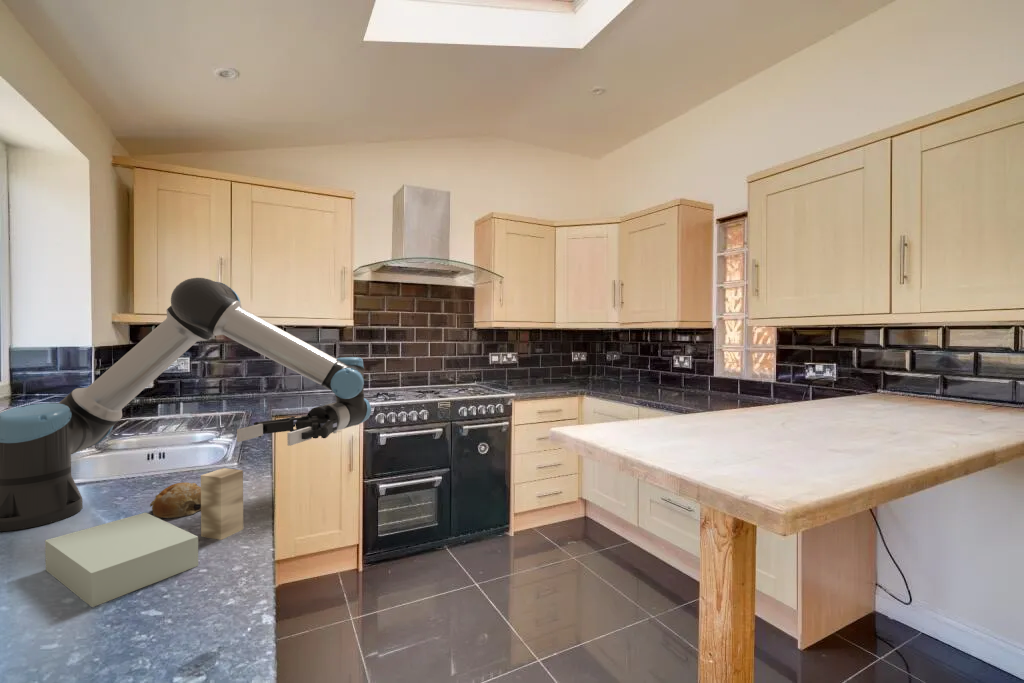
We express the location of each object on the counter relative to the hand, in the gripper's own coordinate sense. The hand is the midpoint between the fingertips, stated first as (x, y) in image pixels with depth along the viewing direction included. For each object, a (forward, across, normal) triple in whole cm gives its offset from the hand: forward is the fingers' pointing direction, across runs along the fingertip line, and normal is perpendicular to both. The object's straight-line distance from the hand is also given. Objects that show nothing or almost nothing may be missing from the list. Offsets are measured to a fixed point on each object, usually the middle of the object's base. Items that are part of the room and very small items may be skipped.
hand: (262, 437), depth 101 cm
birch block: (+10, 0, -17) cm, 20 cm away
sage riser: (+26, +5, -17) cm, 31 cm away
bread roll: (+4, +20, -17) cm, 26 cm away
